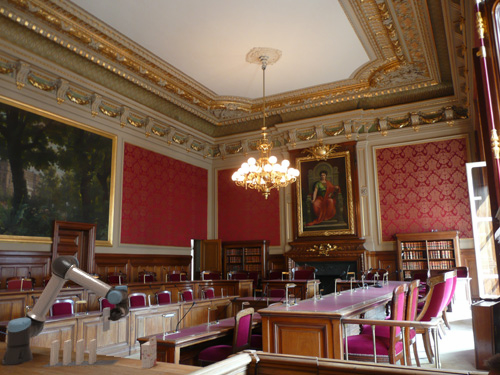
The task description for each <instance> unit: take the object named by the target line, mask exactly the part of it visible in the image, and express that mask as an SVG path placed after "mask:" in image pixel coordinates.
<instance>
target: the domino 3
mask: <svg viewBox="0 0 500 375" xmlns="http://www.w3.org/2000/svg"><path fill="white" fill-rule="evenodd" d="M75 349H76V350H75V351H76V352H75V361H76V365H79V364H81V363H83V362H84V361H85V359H84V356H85V338H81V339H79V340H77V341H76V346H75Z"/></svg>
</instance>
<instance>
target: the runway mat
mask: <svg viewBox="0 0 500 375" xmlns="http://www.w3.org/2000/svg"><path fill="white" fill-rule="evenodd" d="M118 361H119V359H104V360H102V359H101V360H96V362H95V363H93V364H89V360H84V362H83V363H81V364H79V365H76V360H73V361H72V360H71V363H69V364H67V365H63V361H58V363H57V364H55V365H53V366H50V362H49V363H47V364H44V365H43V366H42V368H46V367H47V368H49V367H50V368H51V367H52V368H53V367H75V366H76V367H77V366H80V367H81V366H105V365H107V366H109V365H110V366H112V365H115V364H116V363H118Z"/></svg>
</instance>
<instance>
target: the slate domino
mask: <svg viewBox="0 0 500 375" xmlns="http://www.w3.org/2000/svg"><path fill="white" fill-rule="evenodd" d="M110 310H111V307H105V308H103V309H102V313H103V322H102V333H103V332H104V333H105V332H108V331H109V330H110V326H111V325H110V324H111V322H110V321H111V320H109V321H107V322H104V319H105V317H106V316H108V315H110Z"/></svg>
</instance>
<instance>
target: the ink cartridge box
mask: <svg viewBox="0 0 500 375" xmlns="http://www.w3.org/2000/svg"><path fill="white" fill-rule="evenodd" d="M140 346H141V369H151V368H152V367H154V366H155V365H157V336H156V335H154V336H152V337H150V338H149V339H148V341H146V342H145V343H141V345H140Z"/></svg>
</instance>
